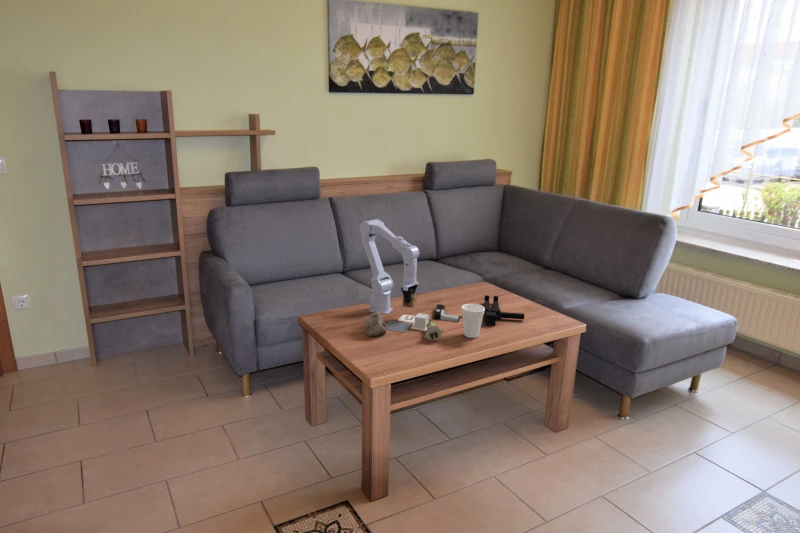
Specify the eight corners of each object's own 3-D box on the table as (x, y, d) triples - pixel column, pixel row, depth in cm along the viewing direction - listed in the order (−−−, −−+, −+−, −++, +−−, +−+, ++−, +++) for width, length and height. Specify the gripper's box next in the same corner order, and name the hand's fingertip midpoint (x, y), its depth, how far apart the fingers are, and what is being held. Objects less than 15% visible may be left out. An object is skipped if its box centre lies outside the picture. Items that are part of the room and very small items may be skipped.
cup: (458, 339, 239) (459, 310, 235) (461, 330, 248) (462, 302, 245) (481, 341, 237) (483, 312, 233) (483, 332, 246) (485, 304, 243)
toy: (520, 297, 280) (526, 315, 251) (519, 308, 282) (525, 327, 253) (464, 294, 284) (464, 311, 255) (464, 304, 285) (463, 322, 256)
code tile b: (410, 328, 249) (410, 328, 248) (415, 322, 256) (415, 321, 256) (427, 331, 246) (427, 330, 246) (432, 325, 254) (432, 324, 254)
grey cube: (414, 327, 249) (414, 317, 248) (417, 323, 254) (417, 313, 253) (425, 329, 248) (425, 318, 247) (428, 325, 253) (428, 314, 251)
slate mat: (381, 329, 247) (381, 329, 247) (389, 321, 257) (389, 320, 257) (405, 333, 244) (405, 332, 244) (412, 324, 254) (412, 323, 254)
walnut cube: (402, 306, 256) (403, 295, 255) (405, 302, 261) (406, 292, 259) (413, 307, 255) (413, 297, 253) (416, 304, 259) (416, 294, 258)
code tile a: (397, 321, 257) (397, 320, 257) (403, 315, 265) (403, 314, 265) (414, 323, 255) (414, 322, 255) (419, 317, 262) (419, 316, 262)
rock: (364, 343, 240) (374, 331, 233) (355, 320, 245) (365, 307, 238) (382, 341, 245) (392, 329, 238) (373, 318, 250) (383, 306, 243)
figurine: (446, 339, 234) (443, 327, 249) (440, 324, 232) (437, 312, 247) (427, 346, 235) (424, 334, 249) (421, 330, 233) (419, 319, 248)
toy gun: (460, 305, 272) (435, 303, 273) (459, 318, 256) (433, 315, 258) (459, 312, 273) (435, 309, 274) (459, 324, 257) (433, 321, 259)
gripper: (414, 278, 246) (413, 307, 250) (422, 269, 259) (421, 297, 263) (398, 276, 248) (398, 305, 252) (408, 267, 261) (407, 295, 265)
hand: (409, 300), depth 257 cm, fingers closed on walnut cube, 5 cm apart
